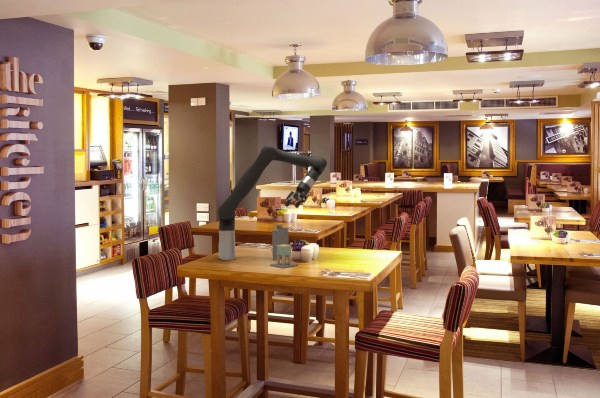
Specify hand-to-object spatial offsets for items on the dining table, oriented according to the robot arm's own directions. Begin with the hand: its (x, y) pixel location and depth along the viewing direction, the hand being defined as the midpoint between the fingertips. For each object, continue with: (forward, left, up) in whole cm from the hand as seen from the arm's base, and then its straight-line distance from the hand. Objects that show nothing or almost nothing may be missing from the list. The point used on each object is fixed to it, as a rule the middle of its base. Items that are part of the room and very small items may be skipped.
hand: (290, 206), depth 353 cm
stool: (+5, -10, -31) cm, 33 cm away
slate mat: (+6, -10, -32) cm, 34 cm away
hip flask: (-14, +4, -32) cm, 35 cm away
